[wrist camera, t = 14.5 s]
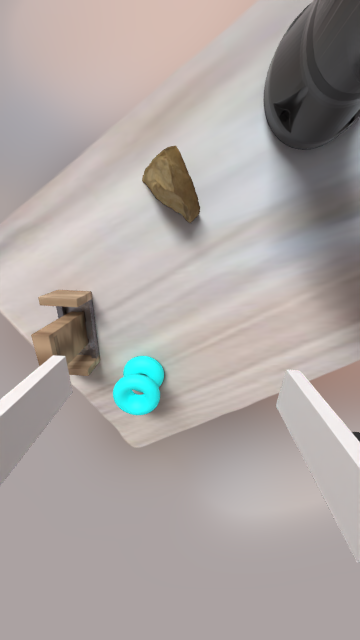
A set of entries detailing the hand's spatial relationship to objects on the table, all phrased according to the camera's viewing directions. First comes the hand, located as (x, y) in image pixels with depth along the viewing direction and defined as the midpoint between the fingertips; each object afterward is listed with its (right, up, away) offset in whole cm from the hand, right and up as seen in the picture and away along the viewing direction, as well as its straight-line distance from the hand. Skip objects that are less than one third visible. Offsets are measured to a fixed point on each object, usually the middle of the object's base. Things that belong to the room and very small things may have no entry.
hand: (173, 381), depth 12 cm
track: (-23, +2, +35) cm, 42 cm away
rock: (-1, +26, +24) cm, 35 cm away
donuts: (-8, -9, +38) cm, 40 cm away
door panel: (-23, +2, +34) cm, 41 cm away
